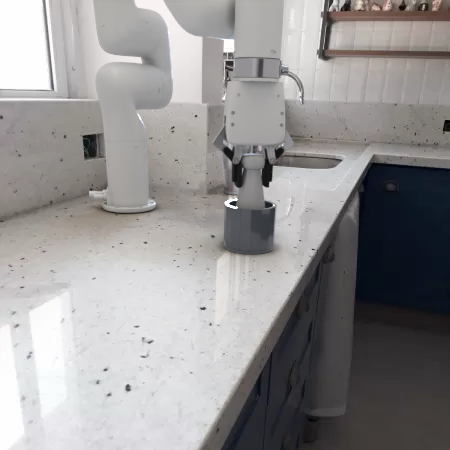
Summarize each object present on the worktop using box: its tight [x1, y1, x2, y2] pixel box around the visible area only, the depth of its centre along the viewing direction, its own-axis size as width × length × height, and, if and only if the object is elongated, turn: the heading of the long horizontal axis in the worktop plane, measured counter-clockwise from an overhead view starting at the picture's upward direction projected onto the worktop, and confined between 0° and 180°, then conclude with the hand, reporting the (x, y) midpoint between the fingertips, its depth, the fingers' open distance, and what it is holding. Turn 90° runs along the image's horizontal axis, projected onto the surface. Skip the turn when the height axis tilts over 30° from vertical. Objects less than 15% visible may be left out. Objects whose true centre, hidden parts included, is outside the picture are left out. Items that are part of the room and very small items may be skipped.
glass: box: [220, 140, 254, 196], centre depth 131 cm, size 11×11×30 cm
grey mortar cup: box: [223, 198, 278, 255], centre depth 88 cm, size 9×9×8 cm
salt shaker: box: [235, 152, 265, 209], centre depth 86 cm, size 6×6×13 cm
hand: (251, 185), depth 85 cm, fingers closed on salt shaker, 4 cm apart
